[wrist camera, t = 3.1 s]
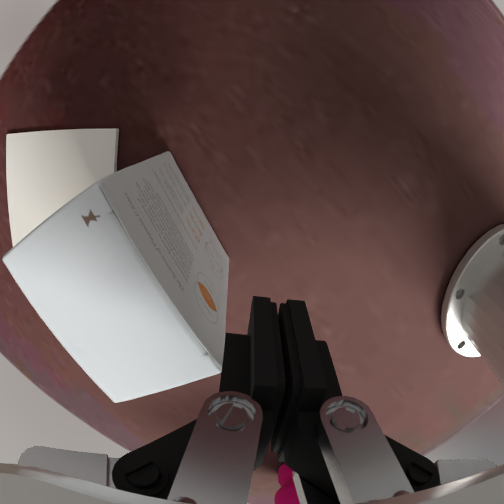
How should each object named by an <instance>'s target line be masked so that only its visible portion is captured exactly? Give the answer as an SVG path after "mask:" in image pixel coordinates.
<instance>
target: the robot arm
mask: <svg viewBox="0 0 504 504" xmlns="http://www.w3.org/2000/svg"><path fill="white" fill-rule="evenodd" d="M441 325H442V331H443V334H444V337H445V339H446V340H447V342H448V343H449V345H450V346H451V348H452V349H453V350H454V351H455V352H457V353H458V354H460V355H462V356H467V357H479V356H481V357H482V358H483V359H484V361H485V362H486V363H487V365H488V366H489V367H490V369H491V370H492V371H493V373H494V374H495V375H496V377H497V378H498V380H499V381H500V382H501V384H502V385H503V387H504V224H501V225H498V226H496V227H495V228H493V229H491V230H489V231H488V232H487V233H485V234H484V235H483V236H482V237H481V238H479V239H478V240H477V241H476V242H475V244H474V245H473V246H472V247H471V248H470V249H469V250H468V251H467V253H466V254H465V256H464V257H463V259H462V260H461V261H460V263H459V264H458V266H457V268H456V270H455V272H454V274H453V276H452V277H451V280H450V282H449V285H448V287H447V290H446V293H445V297H444V301H443V304H442V313H441ZM270 441H271V451H272V452H278V462H285V465H286V466H288V467H289V468H290V469H292V470H293V472H292V474H293V480H294V484H295V488H296V491H297V495H298V498H299V502H300V504H504V464H503V465H500V466H497V465H496V464H495V463H494V462H493V461H491V460H490V459H486V458H477V459H458V460H437V461H436V462H435V463H432V462H431V461H430V460H429V459H427V458H426V457H424V456H422V455H420V454H418V453H416V452H415V451H413V450H411V449H409V448H407V447H405V446H404V445H402V444H400V443H398V442H396V441H395V440H393V439H391V438H389V437H388V436H386V435H384V433H383V431H382V430H381V428H380V426H379V424H378V422H377V420H376V418H375V417H374V415H373V413H372V411H371V410H370V409H369V407H368V406H367V405H366V404H364V403H363V402H362V401H360V400H358V399H356V398H353V397H348V396H342V393H341V389H340V386H339V382H338V379H337V376H336V372H335V369H334V366H333V362H332V359H331V356H330V352H329V349H328V346H327V343H326V342H325V341H318V340H315V337H314V333H313V330H312V326H311V322H310V319H309V315H308V311H307V308H306V304H305V301H299V300H287V302H286V304H284V303H281V304H280V307H279V312H278V313H277V305H276V303H273V302H271V301H270V298H267V297H257V296H253V299H252V306H251V313H250V320H249V327H248V334H247V335H242V334H232V333H226V337H225V346H224V354H223V363H222V372H221V381H220V390H219V393H216V394H214V395H212V396H210V397H209V398H208V399H206V401H205V402H204V404H203V406H202V408H201V411H200V413H199V416H198V419H196V420H194V421H192V422H191V423H189V424H187V425H185V426H183V427H181V428H179V429H177V430H175V431H173V432H171V433H169V434H167V435H165V436H163V437H161V438H159V439H157V440H155V441H153V442H151V443H149V444H147V445H145V446H143V447H141V448H138V449H136V450H134V451H132V452H130V453H127V454H126V455H124V456H122V457H121V458H109V457H108V455H107V454H97V453H87V452H77V451H69V450H62V449H55V448H49V447H41V446H34V447H31V448H29V449H27V450H25V452H23V453H22V454H21V456H20V459H19V461H18V464H4V463H0V504H247V499H248V494H249V489H250V484H251V479H252V474H253V471H254V470H255V469H256V468H258V467H259V466H260V465H262V464H263V460H264V457H265V454H266V452H267V450H268V447H269V444H270Z"/></svg>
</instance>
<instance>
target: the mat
mask: <svg viewBox="0 0 504 504" xmlns="http://www.w3.org/2000/svg"><path fill="white" fill-rule="evenodd" d="M118 136H119V129H117V128H111V129H68V130H49V131H35V132H24V133H13V134H7V140H6V172H7V194H8V208H9V219H10V228H11V236H12V243H13V247H14V246H15V245H16V244H17V243H18V242H20V241H21V240H22V239H23V238H24V237H25V236H26V235H28V234H29V233H30V232H31V231H32V230H33V229H35V228H36V227H37V226H38V225H39V224H41V223H42V222H43V221H44V220H46V219H47V218H48V217H49V216H51V215H52V214H53V213H54V212H56V211H57V210H58V209H59V208H61V207H62V206H63V205H65V204H66V203H67V202H69V201H70V200H71V199H73V198H74V197H76V196H77V195H78V194H80V193H81V192H82V191H84V190H85V189H87V188H88V187H89V186H91V185H92V184H94V183H95V182H96V181H98V180H100V179H102V178H104V177H106V176H108V175H110V174H113V173H115V172H117V152H118Z"/></svg>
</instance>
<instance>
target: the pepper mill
mask: <svg viewBox="0 0 504 504" xmlns="http://www.w3.org/2000/svg"><path fill="white" fill-rule="evenodd" d="M292 472H293V470H292V469H290V468H289V467H288V466H286V465H285V463H284V464H282V465H281V466H280V467H279V470H278V480H279V484H280V485H281V486H282V487H281V488H280V489H279V490H278V491H277V493H276V495H275V499H274V500H275V504H300V502H299V498H298V495H297V491H296V488H295V484H294V480H293V474H292Z"/></svg>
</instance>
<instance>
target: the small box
mask: <svg viewBox="0 0 504 504" xmlns="http://www.w3.org/2000/svg"><path fill="white" fill-rule="evenodd" d="M2 260H3V262H4V263H5V265H6V267H7V268H8V270H9V271H10V273H11V275H12V276H13V278H14V279H15V281H16V282H17V284H18V286H19V287H20V289H21V290H22V292H23V293H24V295H25V296H26V297H27V299H28V300H29V302H30V303H31V305H32V306H33V307H34V309H35V310H36V312H37V313H38V314H39V316H40V317H41V318H42V320H43V321H44V322H45V324H46V325H47V326H48V328H49V329H50V330H51V332H52V333H53V334H54V335H55V337H56V338H57V339H58V340H59V342H60V343H61V344H62V345H63V347H64V348H65V349H66V350H67V351H68V353H69V354H70V355H71V356H72V357H73V359H74V360H75V361H76V362H77V363H78V364H79V365H80V367H81V368H82V369H83V370H84V371H85V372H86V373H87V374H88V375H89V377H90V378H91V379H92V380H93V381H94V382H95V383H96V384H97V385H98V386H99V387H100V388H101V389H102V390H103V392H104V393H105V394H106V395H107V396H108V397H109V398H110V399H111V400H112V401H113V402H115V403H118V402H122V401H127V400H131V399H135V398H139V397H142V396H146V395H149V394H153V393H157V392H160V391H164V390H167V389H171V388H174V387H177V386H181V385H184V384H187V383H190V382H193V381H197V380H200V379H203V378H206V377H209V376H212V375H215V374H218V373H220V372H222V363H223V354H224V342H225V323H226V305H227V288H228V271H229V257H228V256H227V254H226V252H225V251H224V249H223V247H222V245H221V244H220V242H219V240H218V238H217V236H216V235H215V233H214V231H213V229H212V228H211V226H210V224H209V222H208V220H207V219H206V217H205V215H204V213H203V211H202V210H201V208H200V206H199V204H198V202H197V201H196V199H195V197H194V195H193V193H192V191H191V189H190V188H189V186H188V184H187V182H186V181H185V179H184V177H183V175H182V173H181V171H180V170H179V168H178V166H177V164H176V162H175V160H174V158H173V156H172V154H171V152H169V151H167V152H164V153H162V154H160V155H157V156H154V157H152V158H150V159H147V160H145V161H142V162H140V163H137V164H134V165H132V166H129V167H127V168H124V169H122V170H119V171H117V172H115V173H113V174H110V175H108V176H106V177H104V178H102V179H100V180H98V181H96V182H95V183H94V184H92V185H91V186H89V187H88V188H87V189H85V190H84V191H82V192H81V193H80V194H78V195H77V196H76V197H74V198H73V199H71V200H70V201H69V202H67V203H66V204H65V205H63V206H62V207H61V208H59V209H58V210H57V211H56V212H54V213H53V214H52V215H51V216H49V217H48V218H47V219H46V220H44V221H43V222H42V223H41V224H39V225H38V226H37V227H36V228H35V229H33V230H32V231H31V232H30V233H29V234H28V235H26V236H25V237H24V238H23V239H22V240H21V241H20V242H18V243H17V244H16V245H15V246H14V247H13V248H12V249H11V250H9V251H8V252H7V253H6V254H5V255H4V257H3V259H2Z"/></svg>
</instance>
